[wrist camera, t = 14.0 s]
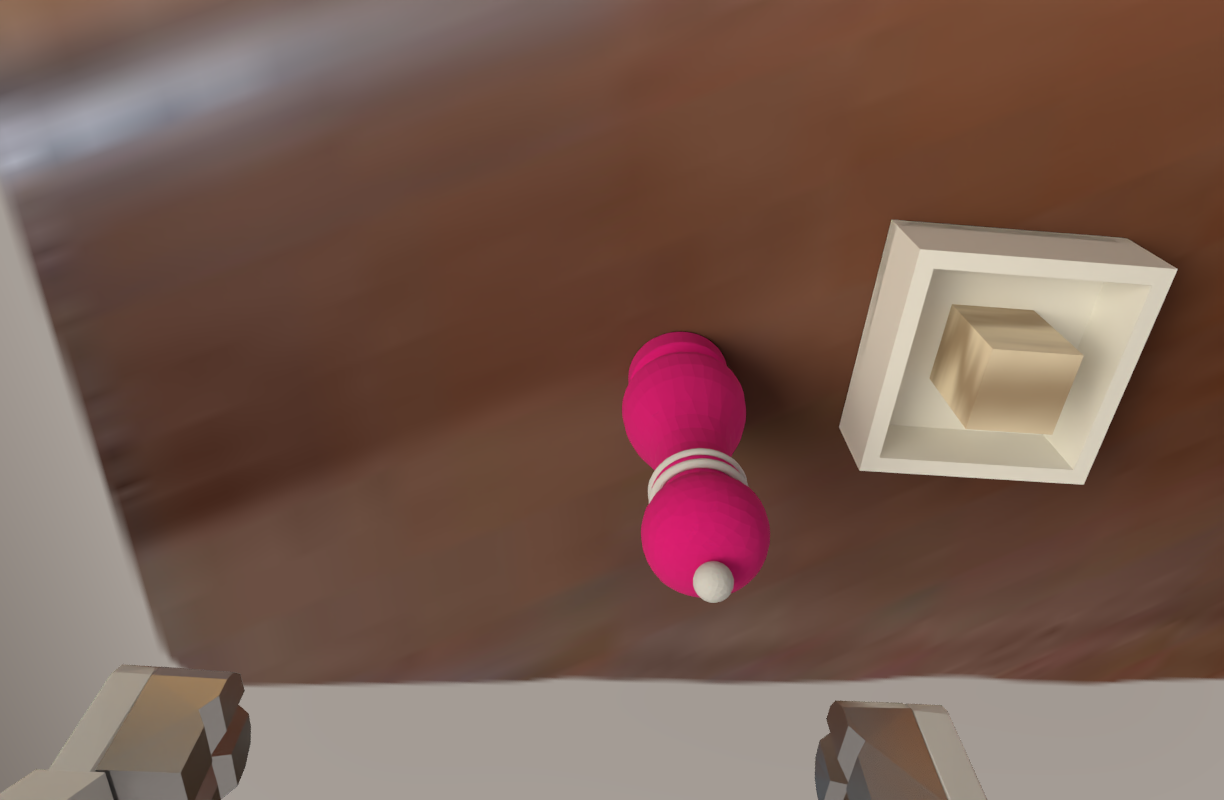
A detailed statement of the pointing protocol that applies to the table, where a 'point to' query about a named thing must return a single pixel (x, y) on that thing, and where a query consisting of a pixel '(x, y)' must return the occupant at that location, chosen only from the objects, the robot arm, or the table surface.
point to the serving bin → (1004, 278)
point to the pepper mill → (694, 468)
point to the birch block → (1004, 369)
